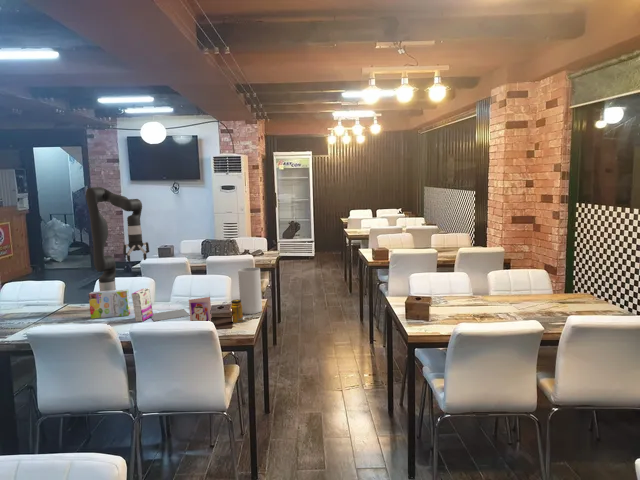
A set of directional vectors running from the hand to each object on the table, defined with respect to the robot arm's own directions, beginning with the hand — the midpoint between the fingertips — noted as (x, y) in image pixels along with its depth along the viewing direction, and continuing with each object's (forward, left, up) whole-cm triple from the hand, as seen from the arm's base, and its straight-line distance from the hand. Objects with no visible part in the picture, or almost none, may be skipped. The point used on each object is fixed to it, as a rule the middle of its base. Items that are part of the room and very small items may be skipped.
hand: (137, 260), depth 295 cm
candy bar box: (0, -14, -32) cm, 35 cm away
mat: (+14, -14, -32) cm, 37 cm away
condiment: (+44, -50, -32) cm, 74 cm away
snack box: (-16, +5, -32) cm, 36 cm away
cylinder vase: (+56, -34, -32) cm, 73 cm away
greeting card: (+25, -47, -32) cm, 62 cm away
